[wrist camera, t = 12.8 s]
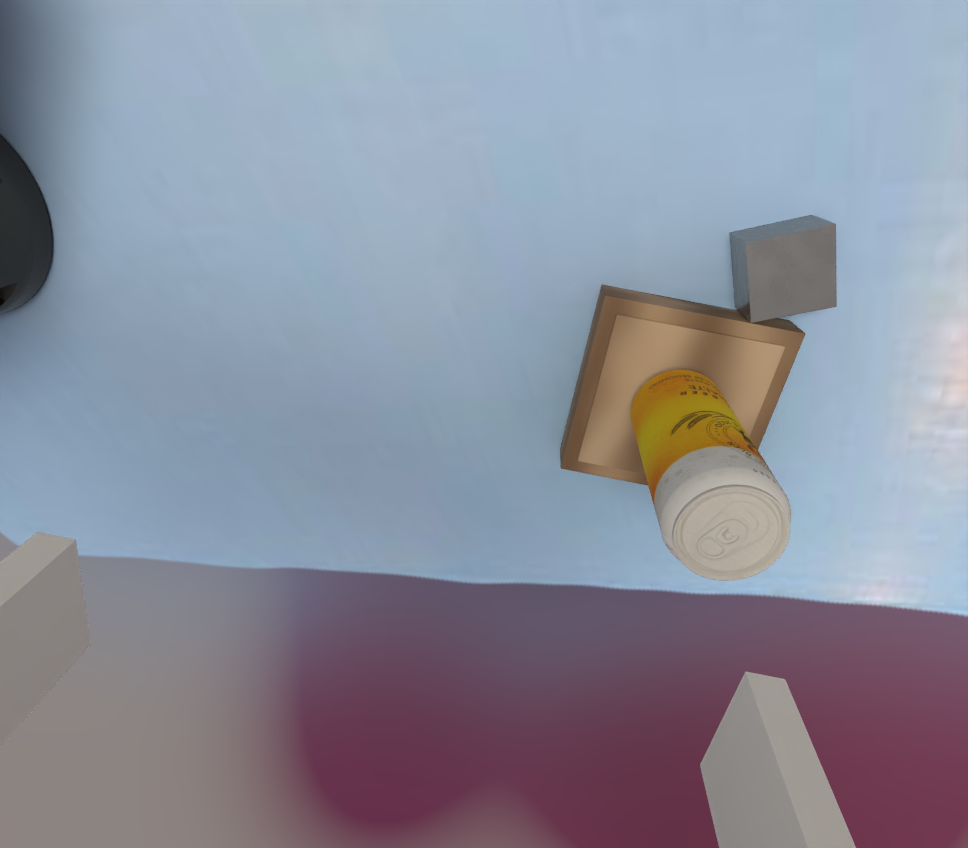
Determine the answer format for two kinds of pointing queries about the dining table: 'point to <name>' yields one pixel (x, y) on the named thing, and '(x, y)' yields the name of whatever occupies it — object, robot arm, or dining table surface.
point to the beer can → (708, 479)
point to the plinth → (665, 347)
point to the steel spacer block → (784, 268)
